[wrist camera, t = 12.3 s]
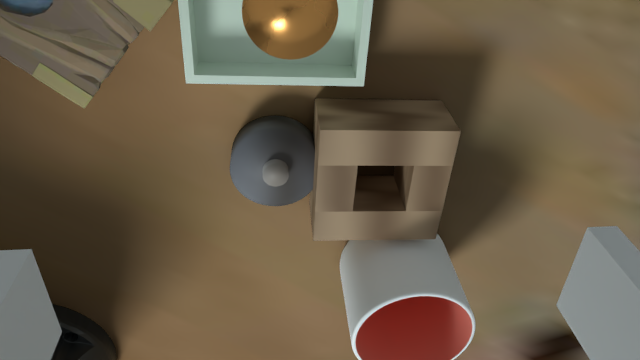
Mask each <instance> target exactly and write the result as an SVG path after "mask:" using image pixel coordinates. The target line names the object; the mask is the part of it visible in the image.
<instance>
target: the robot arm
mask: <svg viewBox="0 0 640 360" xmlns="http://www.w3.org/2000/svg"><path fill="white" fill-rule="evenodd" d="M557 307H558V309H559V310H560V312H561V314H562V315H563V317H564V318H565V320H566V322H567V323H568V325H569V326H570V328H571V330H572V331H573V333H574V335H575V336H576V338H577V339H578V341H579V343H580V344H581V346H582V347H583V349H584V351H585V352H586V354H587V355H588V357H589V359H590V360H640V252H639V250H638V249H637V248H636V247H635V246H634V245H633V244H632V243H631V241H630V240H629V239H628V238H627V237H626V236H625V235H624V234H623V233H622V231H621V230H620V229H619V228H618V227H617V226H610V227H588V228H587V230H586V233H585V235H584V237H583V240H582V242H581V245H580V247H579V250H578V252H577V255H576V257H575V260H574V262H573V265H572V267H571V270H570V272H569V275H568V277H567V280H566V282H565V285H564V287H563V290H562V292H561V295H560V297H559V300H558V302H557ZM0 360H116V349H115V346H114V344H113V342H112V340H111V338H110V337H109V335H108V334H107V333H106V332H105V331H104V330H103V329H102V328H101V327H100V326H99V325H98V324H96V323H95V322H94V321H92V320H91V319H89V318H87V317H86V316H84V315H82V314H80V313H78V312H76V311H73V310H71V309H68V308H65V307H62V306H58V305H54V304H52V303H51V300H50V298H49V295H48V292H47V290H46V287H45V284H44V282H43V279H42V276H41V273H40V271H39V268H38V265H37V263H36V260H35V257H34V255H33V252H32V249H22V250H0Z"/></svg>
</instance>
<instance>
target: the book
mask: <svg viewBox="0 0 640 360" xmlns="http://www.w3.org/2000/svg"><path fill="white" fill-rule="evenodd" d="M172 2H173V0H0V55H1V56H2V57H4V58H5V59H7V60H8V61H10V62H11V63H13V64H14V65H16V66H18V67H20V68H21V69H23V70H24V71H26V72H28V73H29V74H31V75H32V76H33V77H35V78H36V79H38V80H40V81H41V82H43V83H44V84H46V85H47V86H49V87H50V88H52V89H53V90H55V91H57V92H58V93H60V94H61V95H63V96H64V97H66V98H68V99H69V100H71V101H72V102H74V103H76V104H78V105H79V106H81V107H83V108H85V107H86V106H87V104H88V103H89V102H90V100H91V99H92V98H93V96H94V95H95V94H96V92H97V91H98V90H99V88H100V85H101V83H102V82H103V81H104V79H105V78H107V77H108V76H109V75H110V73H111V72H112V70H113V69H114V67H115V65H116V64H118V62H119V61H120V59H121V58H122V56H123V55H124V53H125V52H126V50H127V49H128V45H129V44H130V43H132V42H133V41H134V40H135V39H136V37H137V36H138V35H139V33H140V31H142V30H143V28H144V27H145V28H146V29H148V30H149V31H151V30H152V29H153V27H154V26H155V25H156V23H157V22H158V21H159V19H160V18H161V17H162V15H163V14H164V13H165V11H166V10H167V9H168V8H169V6H170V5H171V4H172Z"/></svg>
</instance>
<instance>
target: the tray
mask: <svg viewBox="0 0 640 360" xmlns="http://www.w3.org/2000/svg"><path fill="white" fill-rule="evenodd" d="M242 3H243V0H178V6H179V16H180V26H181V37H182V47H183V58H184V68H185V78H186V83H197V84H254V85H311V86H364V80H365V71H366V62H367V53H368V44H369V35H370V26H371V17H372V7H373V0H337V3H338V21H337V25H336V28H335V31H334V33H333V35H332V36H331V38H330V40H329V41H328V42H327V43H326V44H325V45H324V46H323V47H322V48H321V49H320V50H319V51H317V52H316V53H314V54H312V55H310V56H308V57H304V58H301V59H292V60H288V59H281V58H277V57H274V56H271V55H269V54H267V53H265V52H264V51H262V50H261V49H260V48H259V47H257V46H256V45H255V44H254V42H253V41H252V40H251V39H250V37H249V35H248V34H247V32H246V29H245V27H244V23H243V19H242Z"/></svg>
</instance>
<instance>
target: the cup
mask: <svg viewBox="0 0 640 360" xmlns="http://www.w3.org/2000/svg"><path fill="white" fill-rule="evenodd" d="M340 274H341V281H342V287H343V293H344V300H345V306H346V312H347V319H348V325H349V331H350V338H351V344H352V349H353V351H354V354H355V355H356V357H357V358H358V359H359V360H453V359H455V358H456V357H457V356H459V355H460V354H461V353H462V352H463V351H464V350H465V349H466V348H467V346H468V345H469V343H470V342H471V340H472V338H473V336H474V332H475V318H474V315H473V313H472V310H471V308H470V305H469V303H468V301H467V298H466V296H465V293H464V291H463V289H462V286H461V284H460V281H459V279H458V277H457V274H456V272H455V269H454V267H453V265H452V262H451V260H450V257H449V255H448V253H447V250H446V248H445V245H444V243H443V241H442V239H441V238H440V236H439V235H438V234H437V235H436V239H413V240H349V241H348V243H347V244H346V246H345V248H344V249H343V252H342V255H341V258H340Z"/></svg>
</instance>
